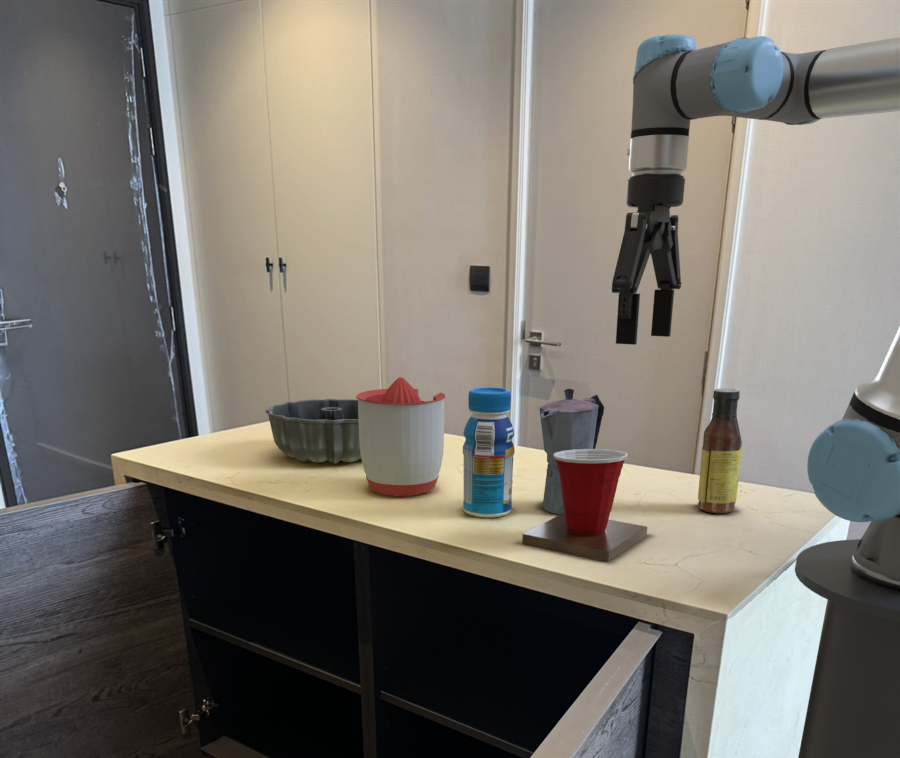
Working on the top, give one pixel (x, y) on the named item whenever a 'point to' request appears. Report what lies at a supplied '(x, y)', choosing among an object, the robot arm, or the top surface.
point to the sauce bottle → (721, 455)
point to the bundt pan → (317, 429)
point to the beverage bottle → (488, 453)
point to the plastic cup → (588, 487)
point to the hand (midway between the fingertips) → (644, 340)
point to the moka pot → (567, 437)
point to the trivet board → (585, 538)
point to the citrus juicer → (401, 439)
